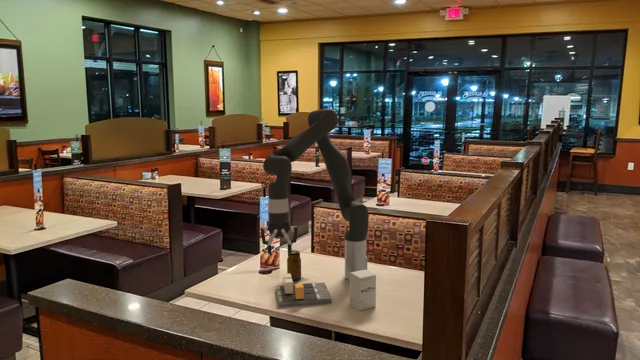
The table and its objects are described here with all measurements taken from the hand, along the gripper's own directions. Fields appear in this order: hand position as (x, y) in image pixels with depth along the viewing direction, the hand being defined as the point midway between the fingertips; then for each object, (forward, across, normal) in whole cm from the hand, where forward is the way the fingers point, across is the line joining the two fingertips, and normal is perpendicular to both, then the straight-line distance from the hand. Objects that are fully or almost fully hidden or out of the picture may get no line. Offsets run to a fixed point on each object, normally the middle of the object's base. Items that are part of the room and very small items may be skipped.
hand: (279, 254), depth 180 cm
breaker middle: (+17, -4, -6) cm, 19 cm away
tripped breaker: (+17, -7, 0) cm, 19 cm away
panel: (+20, -9, -6) cm, 23 cm away
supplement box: (+20, -30, +6) cm, 37 cm away
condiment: (+20, -8, -26) cm, 34 cm away
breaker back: (+17, -4, -12) cm, 21 cm away
